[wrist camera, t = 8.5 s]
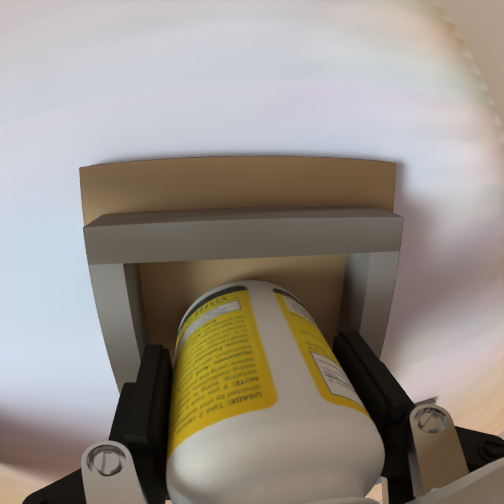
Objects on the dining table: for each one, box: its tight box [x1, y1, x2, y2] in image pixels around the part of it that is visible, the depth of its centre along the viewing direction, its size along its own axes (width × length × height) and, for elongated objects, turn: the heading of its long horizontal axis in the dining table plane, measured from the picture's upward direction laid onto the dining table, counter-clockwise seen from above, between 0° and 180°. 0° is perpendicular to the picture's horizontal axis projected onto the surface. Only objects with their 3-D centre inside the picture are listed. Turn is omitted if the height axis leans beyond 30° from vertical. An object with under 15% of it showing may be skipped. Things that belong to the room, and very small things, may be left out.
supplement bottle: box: [166, 280, 385, 504], centre depth 8 cm, size 5×5×10 cm
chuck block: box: [79, 156, 404, 394], centre depth 12 cm, size 14×12×3 cm
